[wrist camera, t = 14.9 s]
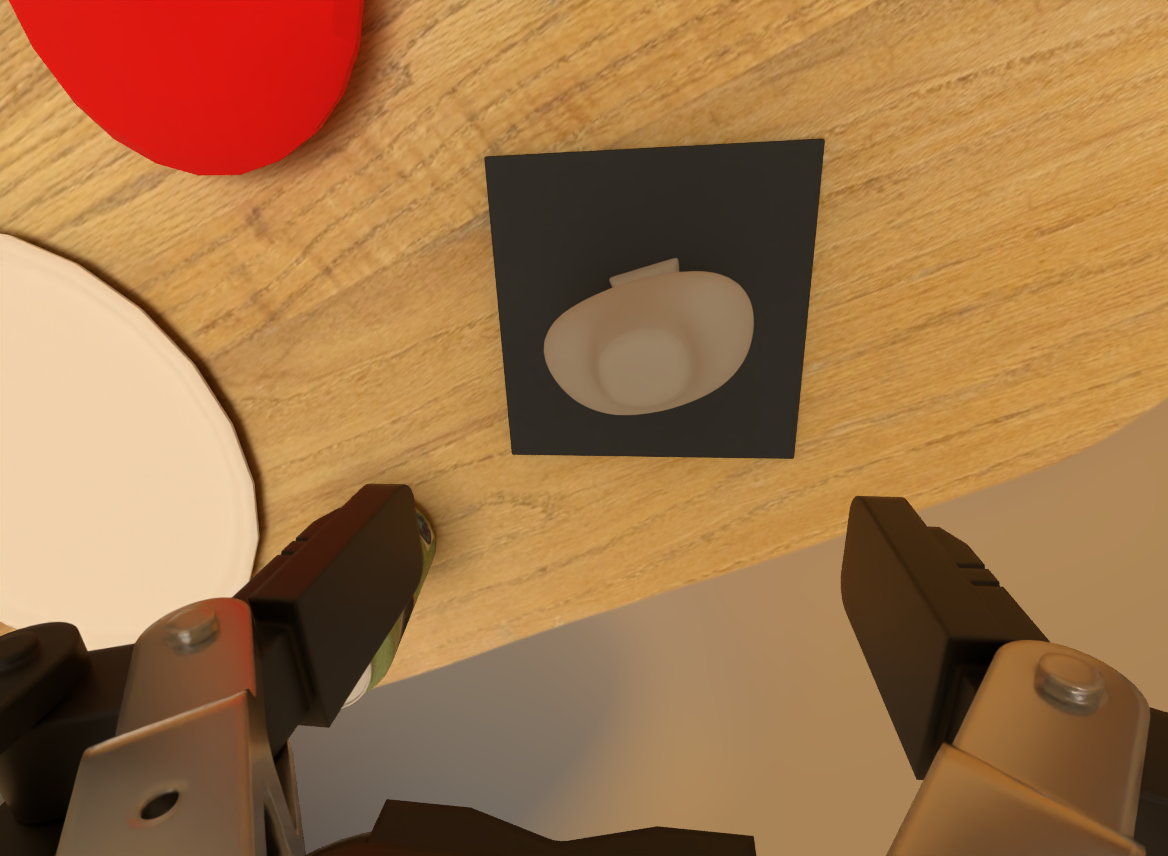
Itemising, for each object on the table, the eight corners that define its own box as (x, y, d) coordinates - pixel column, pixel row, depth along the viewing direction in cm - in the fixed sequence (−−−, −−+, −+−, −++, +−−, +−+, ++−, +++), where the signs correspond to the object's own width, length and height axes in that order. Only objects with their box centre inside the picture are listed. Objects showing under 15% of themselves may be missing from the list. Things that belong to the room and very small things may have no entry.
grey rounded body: (596, 380, 31) (557, 489, 20) (564, 279, 29) (502, 336, 18) (743, 342, 29) (792, 437, 18) (718, 232, 27) (755, 261, 16)
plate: (-249, 374, 38) (-277, 379, 37) (13, 112, 30) (-13, 109, 29) (76, 694, 46) (61, 706, 45) (358, 557, 38) (348, 568, 37)
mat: (821, 139, 26) (825, 138, 25) (791, 453, 32) (794, 459, 31) (488, 157, 28) (483, 156, 27) (515, 449, 34) (511, 455, 33)
